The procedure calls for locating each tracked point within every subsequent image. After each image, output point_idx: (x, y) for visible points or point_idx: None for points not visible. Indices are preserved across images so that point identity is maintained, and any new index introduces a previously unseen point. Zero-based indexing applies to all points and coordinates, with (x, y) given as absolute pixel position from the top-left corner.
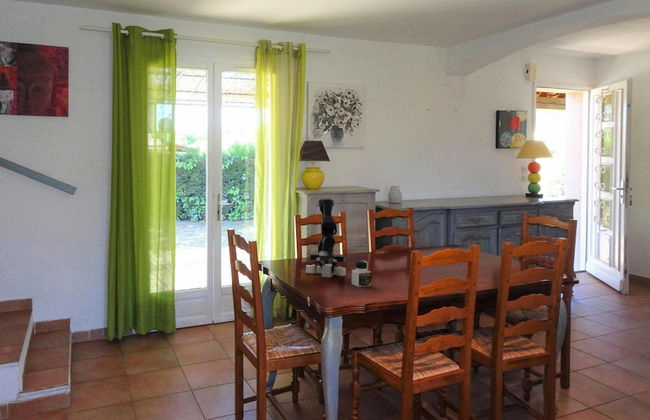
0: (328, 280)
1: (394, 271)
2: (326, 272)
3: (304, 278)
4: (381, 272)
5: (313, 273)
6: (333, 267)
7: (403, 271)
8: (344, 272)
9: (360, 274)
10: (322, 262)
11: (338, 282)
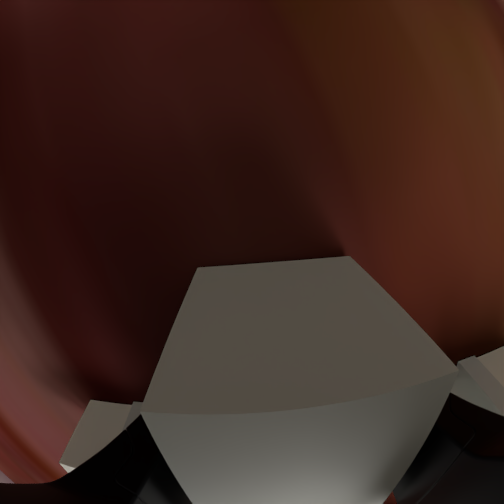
0: (143, 61)
1: (22, 482)
2: (273, 299)
3: (495, 85)
4: (32, 476)
5: (461, 361)
6: (120, 444)
7: (8, 477)
8: (79, 428)
9: None
10: (458, 500)
11: (10, 60)
